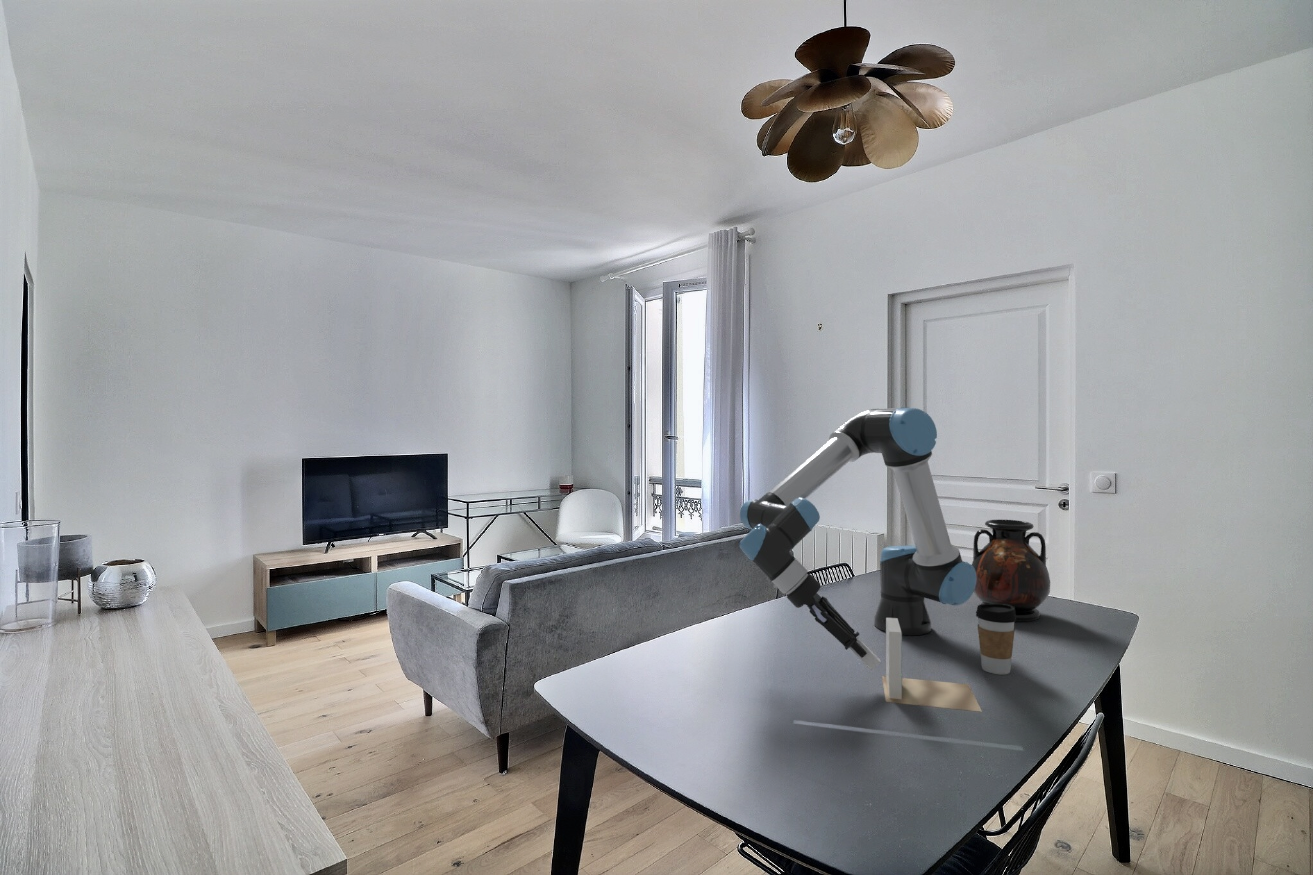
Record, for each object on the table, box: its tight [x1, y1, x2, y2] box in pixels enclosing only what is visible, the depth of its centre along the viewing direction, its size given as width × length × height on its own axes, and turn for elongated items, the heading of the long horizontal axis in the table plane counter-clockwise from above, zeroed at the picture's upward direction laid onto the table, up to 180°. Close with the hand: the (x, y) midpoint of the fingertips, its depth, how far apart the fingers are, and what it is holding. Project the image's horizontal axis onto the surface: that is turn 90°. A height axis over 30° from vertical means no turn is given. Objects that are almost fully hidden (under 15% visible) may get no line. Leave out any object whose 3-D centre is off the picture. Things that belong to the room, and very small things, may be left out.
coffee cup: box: [975, 604, 1017, 676], centre depth 151 cm, size 8×8×15 cm
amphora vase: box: [971, 519, 1051, 622], centre depth 194 cm, size 22×22×28 cm
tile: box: [885, 618, 903, 699], centre depth 139 cm, size 3×10×14 cm, turn 164°
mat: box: [881, 675, 983, 713], centre depth 137 cm, size 18×14×1 cm
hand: (875, 665), depth 140 cm, fingers closed
